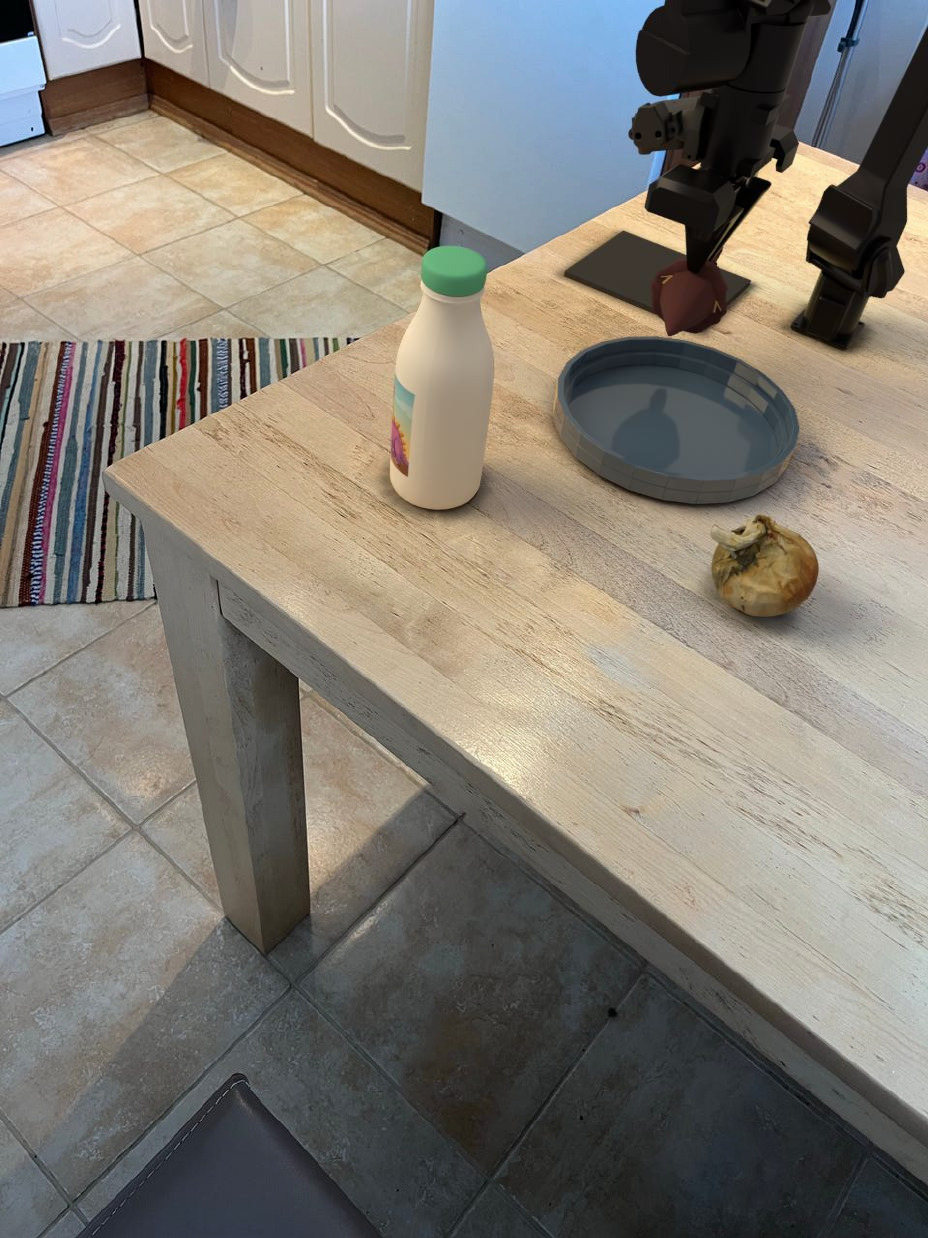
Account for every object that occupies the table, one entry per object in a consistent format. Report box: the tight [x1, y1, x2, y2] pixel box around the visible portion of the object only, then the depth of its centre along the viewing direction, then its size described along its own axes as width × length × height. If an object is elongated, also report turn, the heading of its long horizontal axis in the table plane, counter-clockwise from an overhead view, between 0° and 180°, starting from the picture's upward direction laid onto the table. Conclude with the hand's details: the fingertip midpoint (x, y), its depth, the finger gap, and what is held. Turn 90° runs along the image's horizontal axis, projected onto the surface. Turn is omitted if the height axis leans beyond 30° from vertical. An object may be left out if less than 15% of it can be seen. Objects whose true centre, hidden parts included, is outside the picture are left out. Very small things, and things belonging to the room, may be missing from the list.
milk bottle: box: [389, 245, 495, 511], centre depth 73 cm, size 8×8×20 cm
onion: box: [709, 513, 820, 617], centre depth 72 cm, size 8×8×8 cm
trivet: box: [563, 230, 752, 315], centre depth 108 cm, size 14×17×1 cm
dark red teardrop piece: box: [651, 245, 728, 337], centre depth 88 cm, size 7×7×15 cm
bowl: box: [552, 335, 801, 505], centre depth 88 cm, size 22×22×3 cm
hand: (699, 265), depth 87 cm, fingers closed on dark red teardrop piece, 2 cm apart
